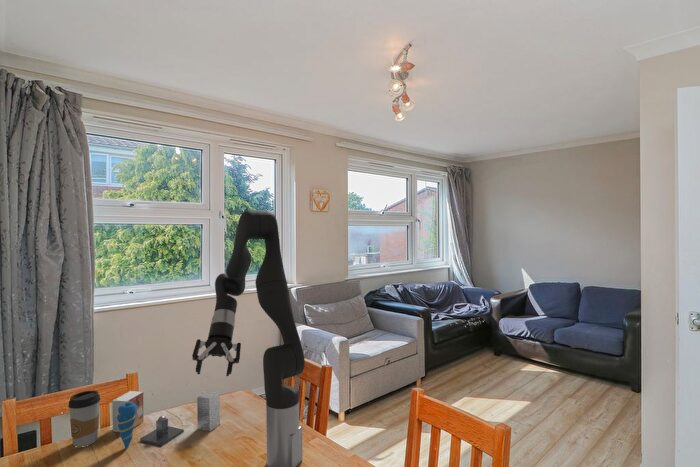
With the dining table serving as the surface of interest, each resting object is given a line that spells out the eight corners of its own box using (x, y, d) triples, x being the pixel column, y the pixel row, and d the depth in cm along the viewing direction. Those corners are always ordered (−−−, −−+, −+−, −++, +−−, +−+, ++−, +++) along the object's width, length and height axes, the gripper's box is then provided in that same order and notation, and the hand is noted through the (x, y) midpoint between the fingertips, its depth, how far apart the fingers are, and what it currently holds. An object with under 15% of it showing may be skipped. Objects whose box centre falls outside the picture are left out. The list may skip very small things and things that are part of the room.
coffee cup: (62, 447, 119) (61, 399, 118) (87, 434, 127) (87, 388, 126) (82, 452, 116) (81, 402, 116) (107, 437, 124) (106, 391, 124)
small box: (126, 433, 127) (126, 401, 127) (112, 431, 128) (111, 400, 128) (144, 421, 135) (143, 391, 134) (130, 420, 136) (129, 390, 136)
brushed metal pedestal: (219, 424, 132) (219, 392, 132) (209, 431, 127) (209, 398, 127) (208, 422, 134) (207, 390, 134) (197, 429, 129) (197, 396, 129)
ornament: (119, 445, 120) (118, 397, 120) (138, 441, 122) (137, 394, 121) (116, 454, 115) (115, 404, 115) (135, 450, 117) (134, 401, 116)
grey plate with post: (183, 433, 127) (183, 411, 127) (161, 447, 119) (161, 425, 119) (162, 428, 130) (162, 407, 130) (140, 442, 122) (139, 420, 122)
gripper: (199, 318, 125) (188, 368, 114) (245, 322, 128) (237, 371, 117) (200, 329, 130) (188, 377, 120) (243, 333, 133) (236, 380, 123)
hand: (213, 374), depth 119 cm, fingers open, 8 cm apart
